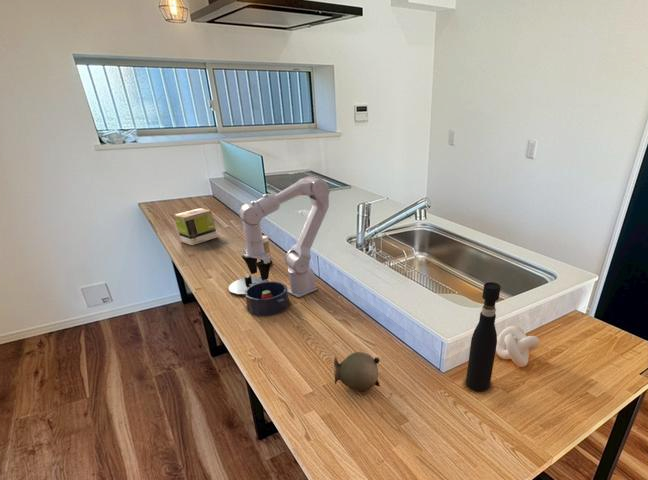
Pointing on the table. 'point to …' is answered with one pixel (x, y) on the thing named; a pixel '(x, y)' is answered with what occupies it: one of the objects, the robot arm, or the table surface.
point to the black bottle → (483, 342)
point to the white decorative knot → (516, 345)
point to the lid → (244, 284)
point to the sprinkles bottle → (266, 246)
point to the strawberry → (266, 294)
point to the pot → (270, 304)
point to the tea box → (195, 226)
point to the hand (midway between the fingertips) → (259, 276)
